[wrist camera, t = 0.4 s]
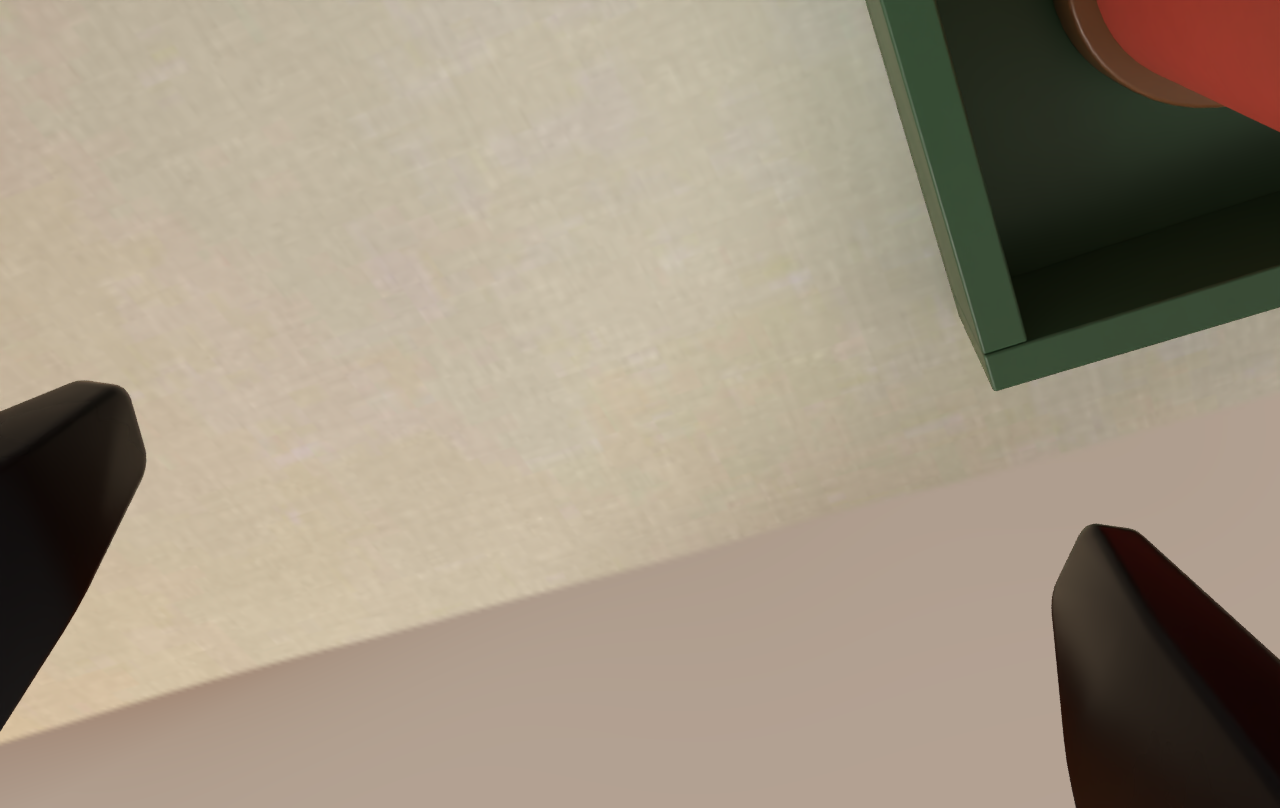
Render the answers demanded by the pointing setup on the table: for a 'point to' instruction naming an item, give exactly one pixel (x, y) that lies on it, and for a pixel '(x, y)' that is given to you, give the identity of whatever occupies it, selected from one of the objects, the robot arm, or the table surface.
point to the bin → (1074, 190)
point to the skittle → (1184, 50)
